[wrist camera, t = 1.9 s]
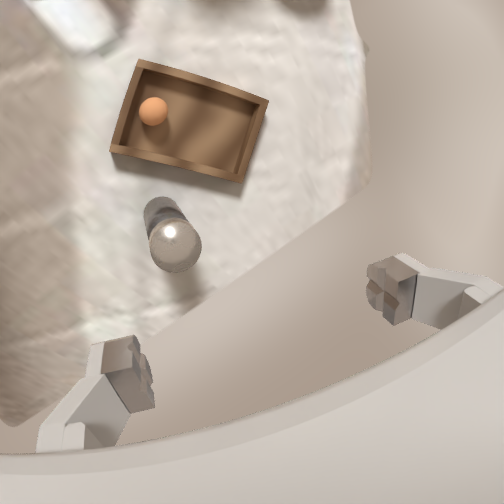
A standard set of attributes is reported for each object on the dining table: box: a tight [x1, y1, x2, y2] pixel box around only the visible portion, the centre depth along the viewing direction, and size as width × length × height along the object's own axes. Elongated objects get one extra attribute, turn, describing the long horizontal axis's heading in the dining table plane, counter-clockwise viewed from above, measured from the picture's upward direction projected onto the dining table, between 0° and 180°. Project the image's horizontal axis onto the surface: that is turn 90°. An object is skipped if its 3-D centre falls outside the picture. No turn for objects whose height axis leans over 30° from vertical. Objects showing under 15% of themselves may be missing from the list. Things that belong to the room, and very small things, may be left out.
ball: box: [139, 97, 168, 126], centre depth 35 cm, size 4×4×4 cm
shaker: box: [144, 197, 202, 272], centre depth 37 cm, size 5×5×13 cm
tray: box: [109, 59, 269, 184], centre depth 38 cm, size 18×12×2 cm, turn 71°
